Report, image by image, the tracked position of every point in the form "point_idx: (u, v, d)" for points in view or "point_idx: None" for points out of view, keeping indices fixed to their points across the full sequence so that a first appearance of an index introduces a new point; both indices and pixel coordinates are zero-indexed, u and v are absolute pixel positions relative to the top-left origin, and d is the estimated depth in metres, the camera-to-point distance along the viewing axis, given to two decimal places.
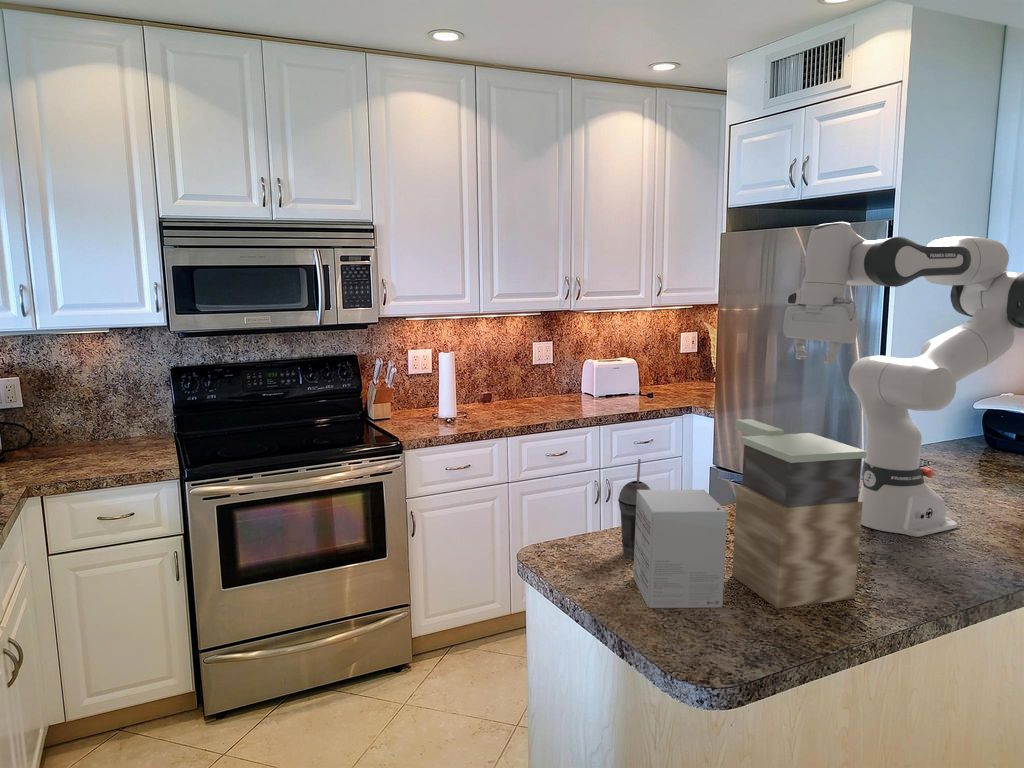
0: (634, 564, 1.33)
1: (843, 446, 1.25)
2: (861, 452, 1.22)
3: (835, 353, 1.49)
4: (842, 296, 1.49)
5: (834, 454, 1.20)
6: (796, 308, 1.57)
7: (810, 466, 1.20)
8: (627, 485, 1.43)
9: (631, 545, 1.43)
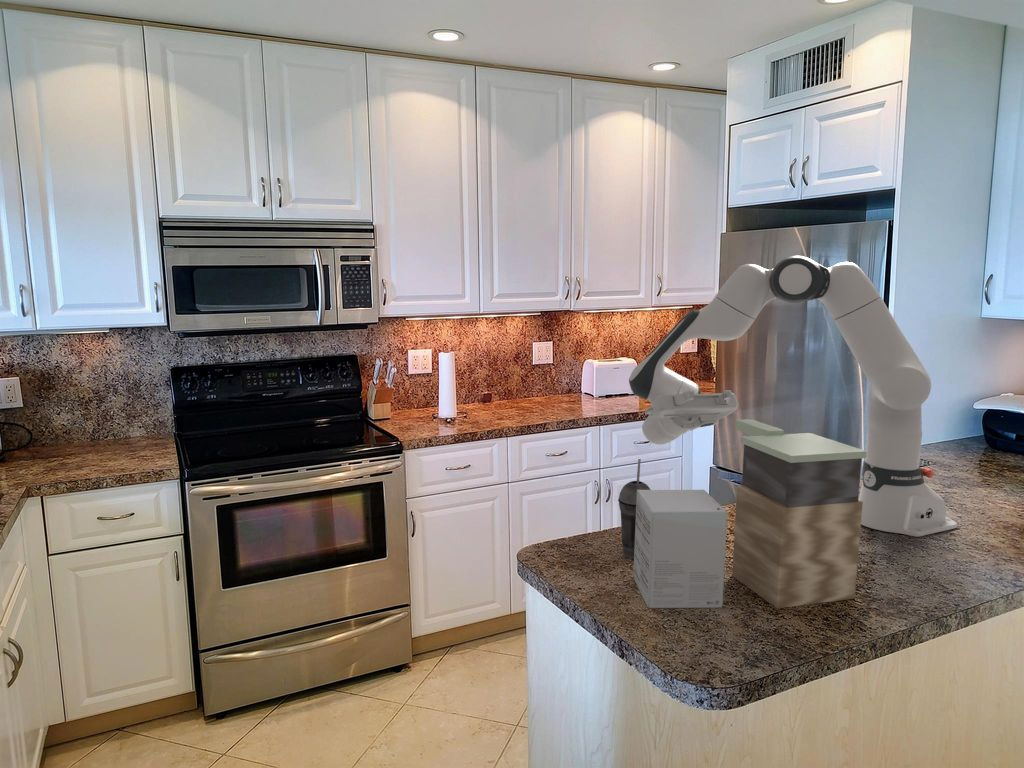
0: (634, 564, 1.33)
1: (843, 446, 1.25)
2: (861, 452, 1.22)
3: (681, 395, 1.58)
4: None
5: (834, 454, 1.20)
6: (706, 420, 1.67)
7: (810, 466, 1.20)
8: (627, 485, 1.43)
9: (631, 545, 1.43)
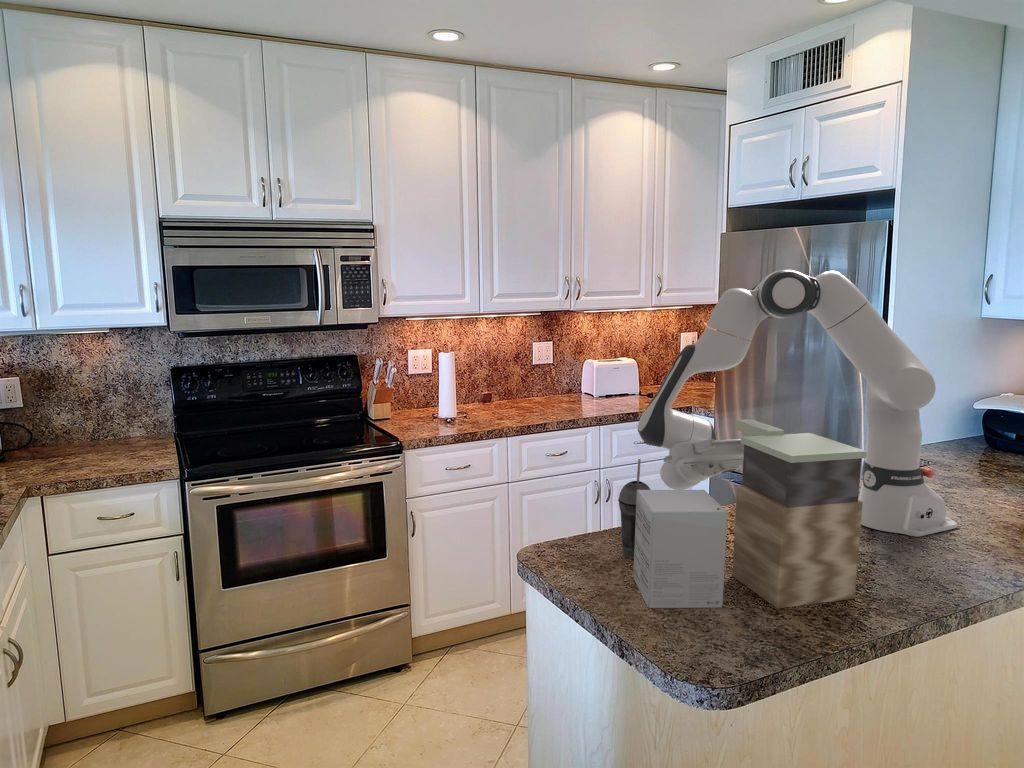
0: (634, 564, 1.33)
1: (843, 446, 1.25)
2: (861, 452, 1.22)
3: (701, 443, 1.50)
4: None
5: (834, 454, 1.20)
6: (728, 466, 1.59)
7: (810, 466, 1.20)
8: (627, 485, 1.43)
9: (631, 545, 1.43)
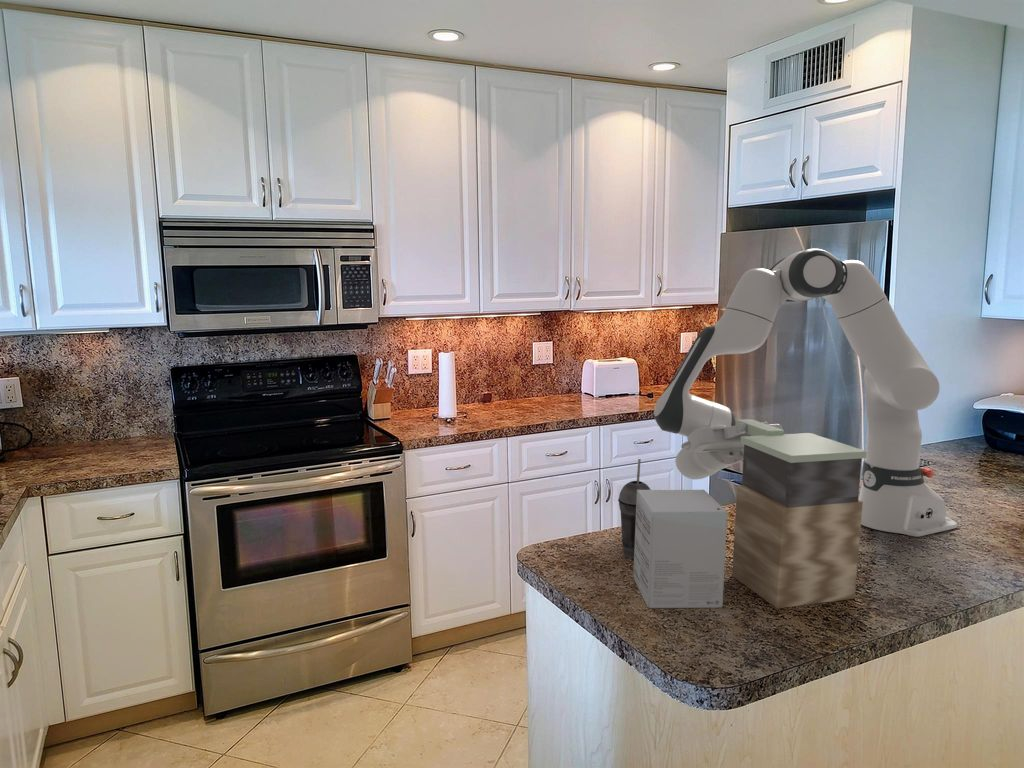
0: (634, 564, 1.33)
1: (843, 446, 1.25)
2: (861, 452, 1.21)
3: (733, 428, 1.42)
4: None
5: (834, 454, 1.20)
6: None
7: (810, 466, 1.20)
8: (627, 485, 1.43)
9: (631, 545, 1.43)
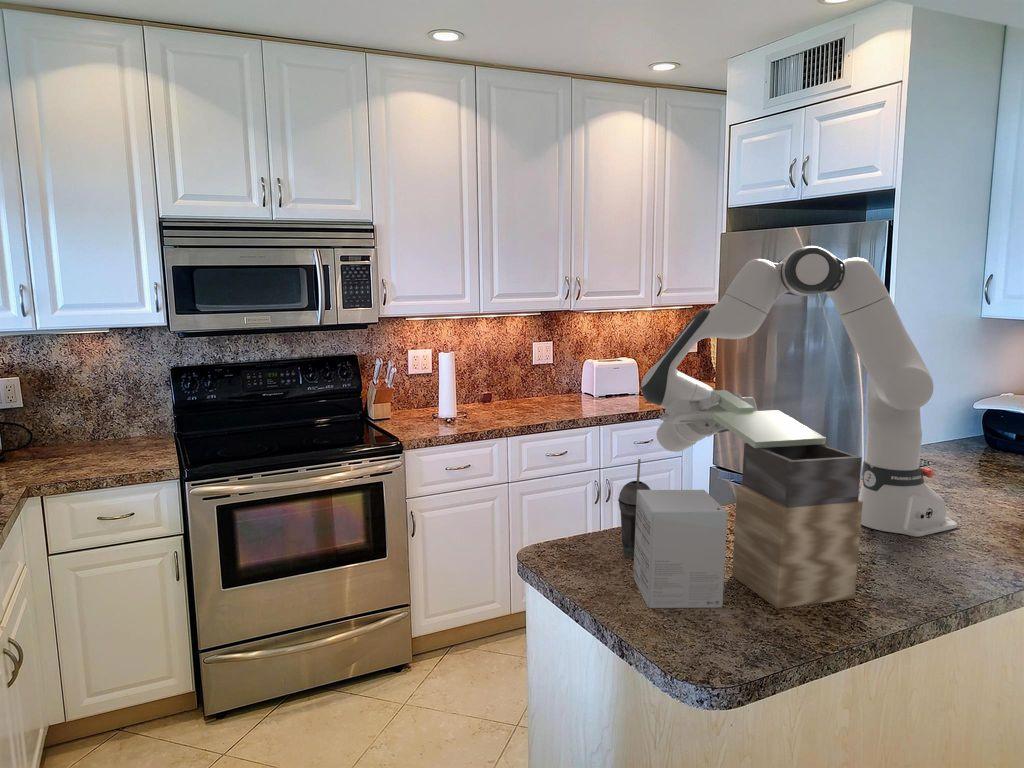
0: (634, 564, 1.33)
1: (806, 430, 1.35)
2: (821, 439, 1.31)
3: (707, 400, 1.51)
4: None
5: (795, 440, 1.30)
6: None
7: (810, 466, 1.20)
8: (627, 485, 1.43)
9: (631, 545, 1.43)
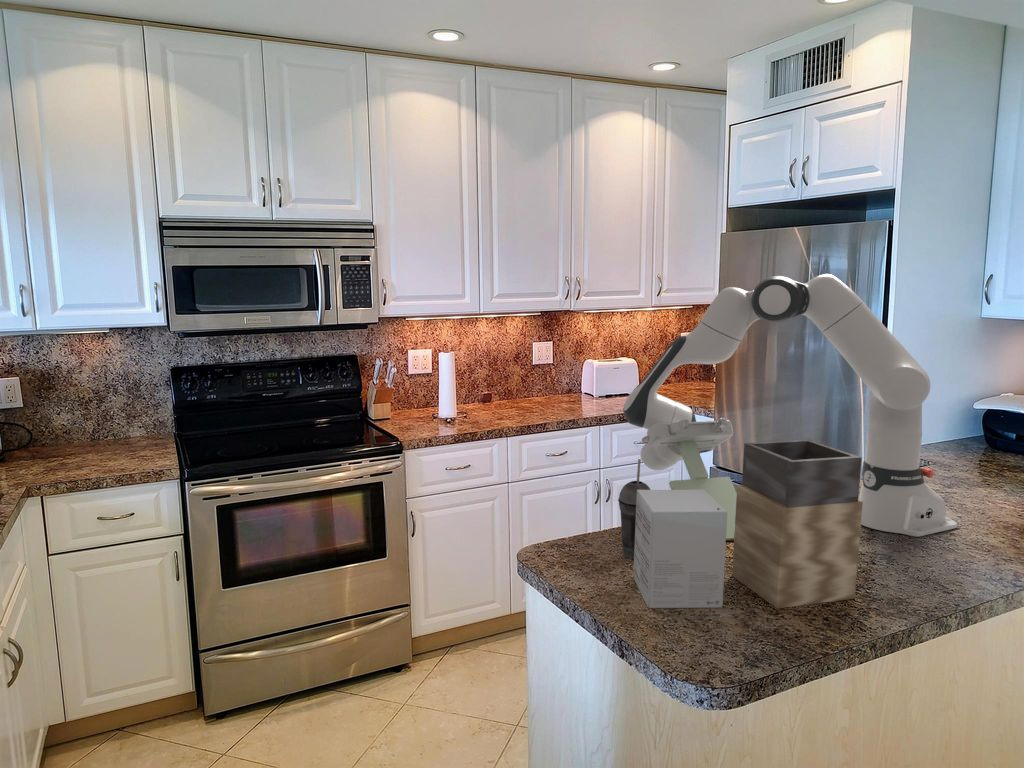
0: (634, 564, 1.33)
1: None
2: None
3: (676, 424, 1.60)
4: None
5: (727, 538, 1.53)
6: (703, 447, 1.70)
7: (810, 466, 1.20)
8: (627, 485, 1.43)
9: (631, 545, 1.43)
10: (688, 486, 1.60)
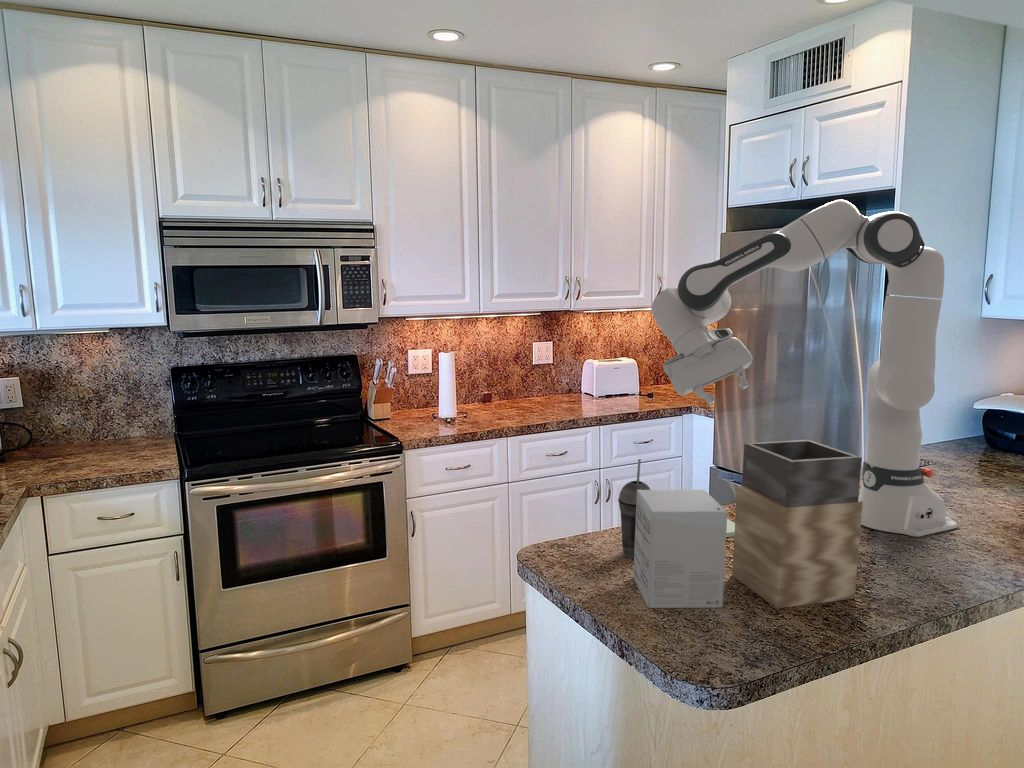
0: (634, 564, 1.33)
1: (731, 525, 1.61)
2: None
3: (703, 395, 1.61)
4: (683, 348, 1.65)
5: None
6: None
7: (810, 466, 1.20)
8: (627, 485, 1.43)
9: (631, 545, 1.43)
10: None
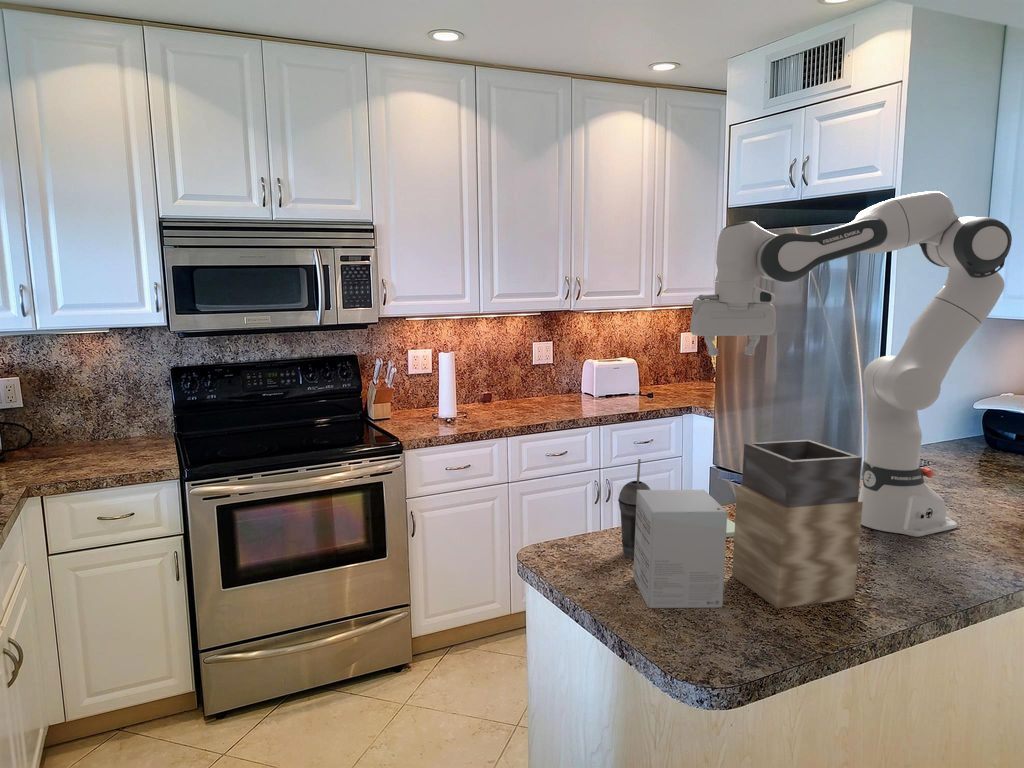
0: (634, 564, 1.33)
1: (731, 525, 1.61)
2: None
3: (710, 346, 1.60)
4: (723, 292, 1.58)
5: None
6: None
7: (810, 466, 1.20)
8: (627, 485, 1.43)
9: (631, 545, 1.43)
10: None
